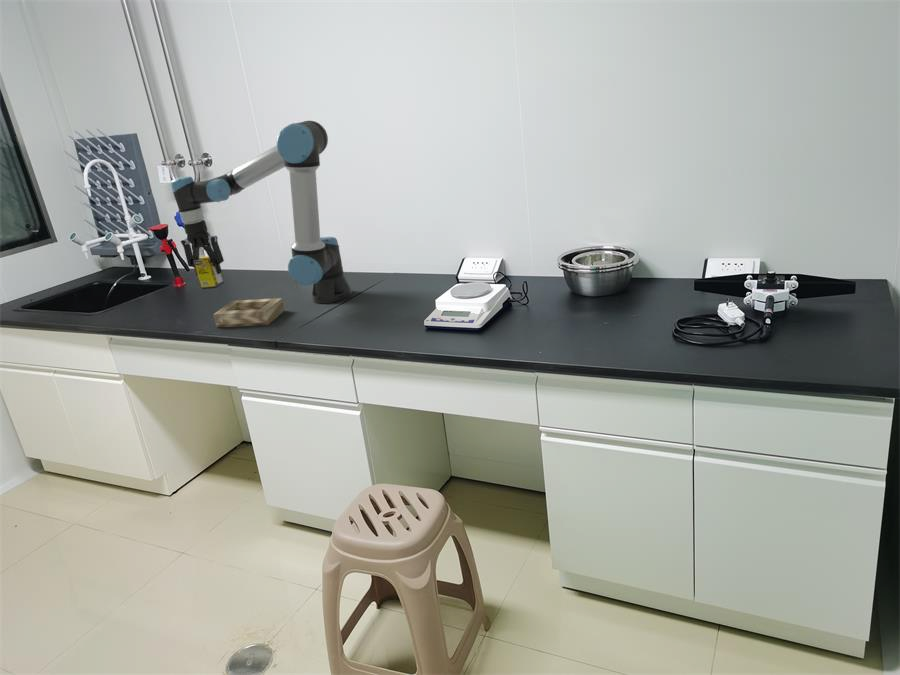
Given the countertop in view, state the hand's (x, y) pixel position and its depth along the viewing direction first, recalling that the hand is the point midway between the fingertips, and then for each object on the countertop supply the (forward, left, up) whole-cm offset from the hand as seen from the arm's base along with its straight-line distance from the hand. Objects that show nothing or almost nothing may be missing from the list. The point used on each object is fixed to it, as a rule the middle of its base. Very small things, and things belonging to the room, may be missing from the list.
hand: (211, 282), depth 238 cm
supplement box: (0, 0, -2) cm, 2 cm away
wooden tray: (-16, +7, -12) cm, 22 cm away
